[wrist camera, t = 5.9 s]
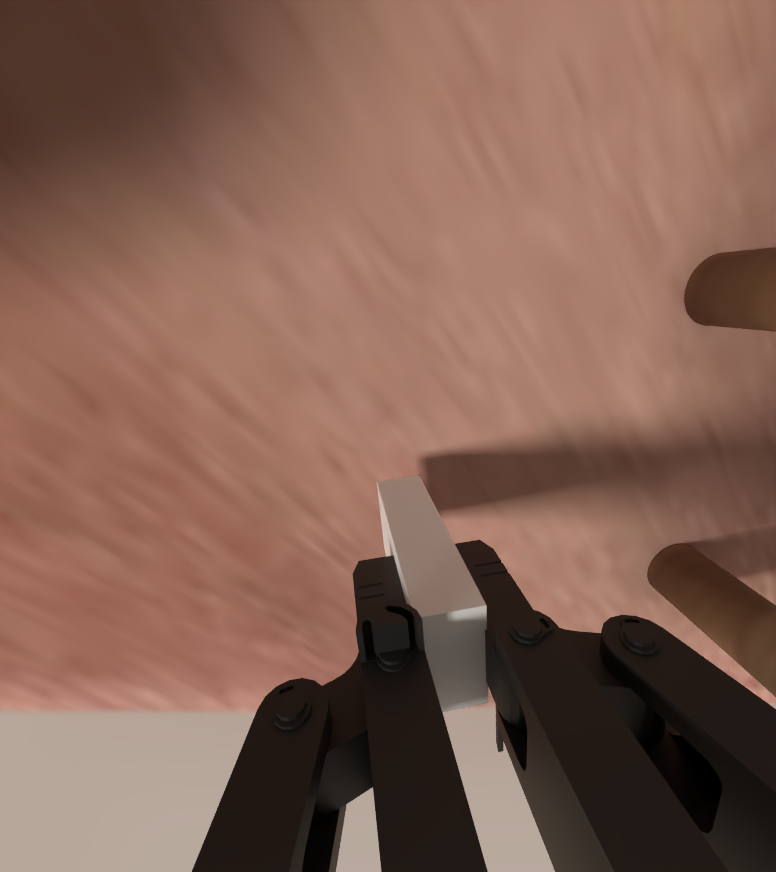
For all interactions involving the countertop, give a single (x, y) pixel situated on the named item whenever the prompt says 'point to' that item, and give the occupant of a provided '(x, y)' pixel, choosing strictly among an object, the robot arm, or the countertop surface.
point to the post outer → (720, 608)
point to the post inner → (734, 290)
